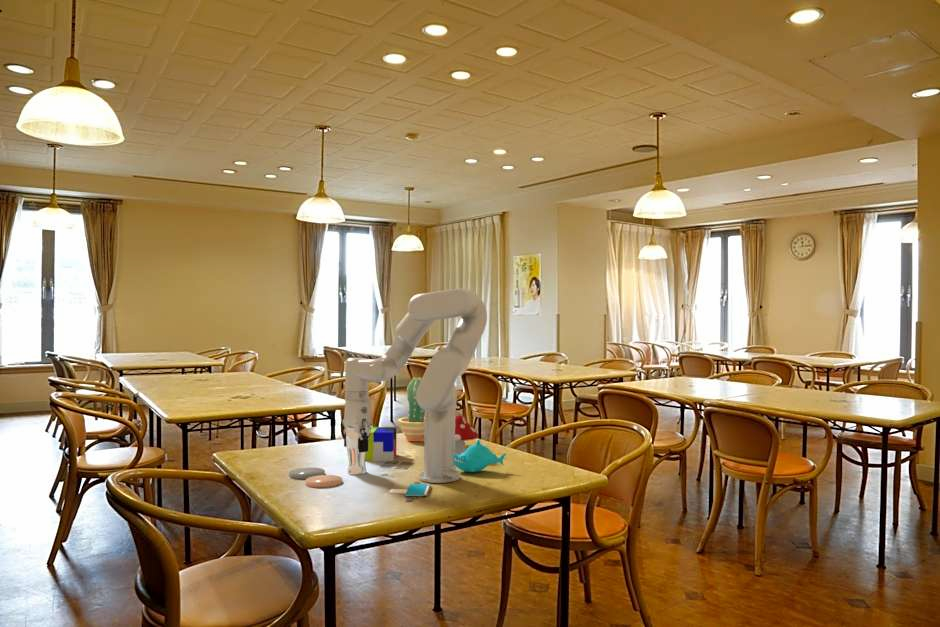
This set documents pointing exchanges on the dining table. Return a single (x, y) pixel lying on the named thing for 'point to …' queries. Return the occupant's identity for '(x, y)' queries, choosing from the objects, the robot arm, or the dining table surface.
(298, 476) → the slate coaster
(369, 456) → the puzzle toy
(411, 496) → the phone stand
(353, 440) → the beer glass
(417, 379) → the potted cactus
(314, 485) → the terracotta coaster
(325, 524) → the dining table surface
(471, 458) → the toy shark
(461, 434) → the decorative mushroom
